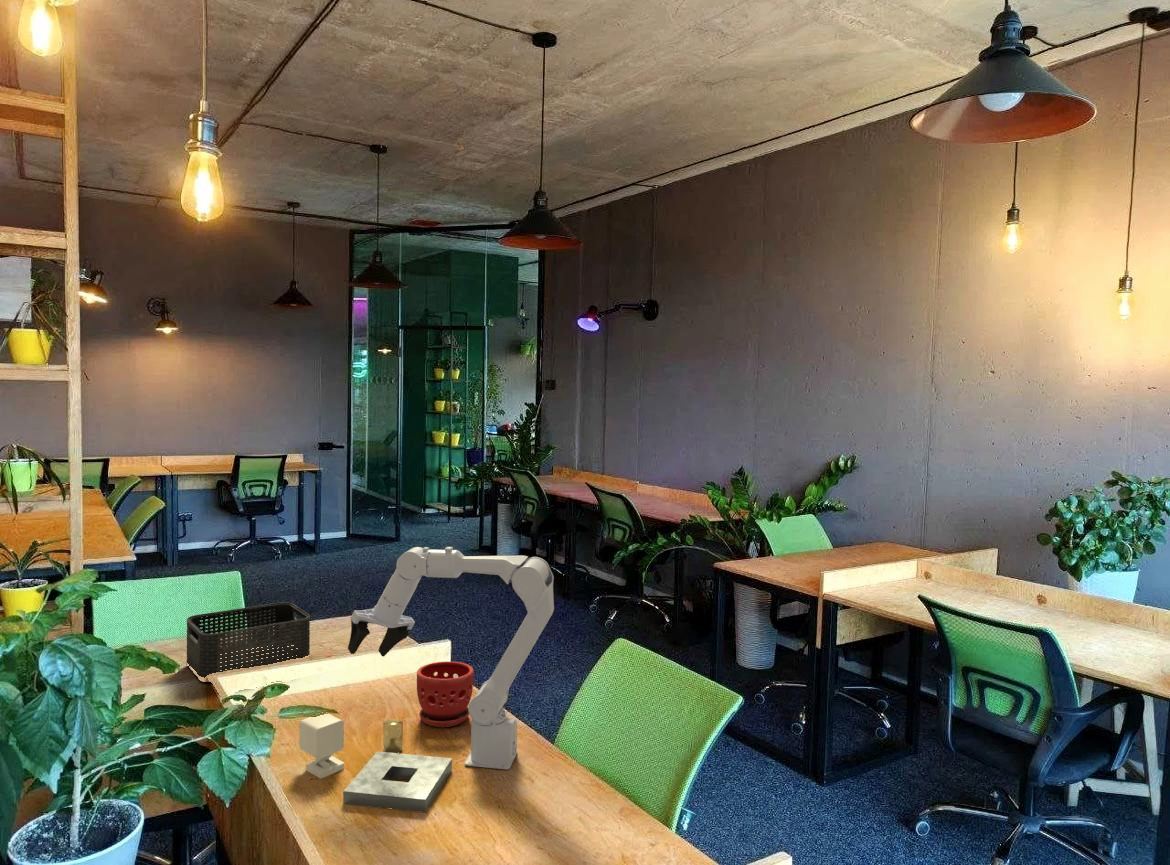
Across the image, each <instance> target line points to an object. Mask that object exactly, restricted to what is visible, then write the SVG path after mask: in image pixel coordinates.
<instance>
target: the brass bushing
mask: <svg viewBox="0 0 1170 865" xmlns="http://www.w3.org/2000/svg"><path fill="white" fill-rule="evenodd" d="M403 726H404V725H403V720H402V719H397V718H391V719H386V720H385V721H383V727H382V728H383V731H382V732H383V733H382V734H383V737H382V738H383V741H382V742H383V743H382V744H383V747H382V749H383V750H384V752H389V753H398V752H400V751H401V750H402V751H403V730H404V729H403ZM383 750H382V751H383ZM402 751H401V752H402ZM401 752H400V753H401Z"/></svg>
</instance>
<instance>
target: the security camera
mask: <svg viewBox="0 0 1170 865" xmlns="http://www.w3.org/2000/svg"><path fill="white" fill-rule="evenodd" d="M344 725H345V724H344V721H343V720H342V719H340V718H337V716H334V715H332V714H330V713H328V714H324V715H320V716H317V717H311V716H309V717H306V718H304V719H301V720H300V722H299V749H300V750H301V751H303V752H305V753H307V754H308V755H310V756H312V757H314V758H315V759H314V760H311V761H309V762H306V763H305V770H306V771H307V772H309V773H310V774H312V775H313V776H315V777H317V778H318V779H324V778H327V777H329V776H331V775H333V774H335V773H338V772H341V771H343V770H344V769H345V768H344V767H345V762H343V761H342V760H340V759H339V758H336V757H335V756H333V755H334V754H335V753H338V752H340V751H342V750H343V749H344V743H345V742H344V741H345V740H344V739H345V738H344V736H345V735H344V733H345V732H344V731H345V729H344V727H345V726H344Z"/></svg>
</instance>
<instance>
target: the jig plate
mask: <svg viewBox="0 0 1170 865" xmlns="http://www.w3.org/2000/svg"><path fill="white" fill-rule="evenodd" d="M452 762H453V758H451V757H450V758H449V757H441V756H432V755H431V756H430V755H420V754H408V753H401V752H400V753H389V752H383V751H376V752H375V754H374V755H372V757H371V758H370V759H369V761H367V763H366V764H365V765H364V766H363V767H362V768H361V770H360V771H359V772H358V773H357V774H356V776H355V777H354V778H353V779H352V780H351V782H350V783H349V784H348V785H347V786H346V788H344V789H343V791H342V793H343V794H342V796H343V798H342V799H343V800H342V804H343V805H349V806H361V807H368V806H369V807H370V806H371V807H370V808H377V807H381V808H380V809H387V808H392V809H391V810H396V809H399V810H398V811H405V810H409V811H408V812H415V811H419V812H418V813H424V812H425V813H426V812H427V811H426V810H428V809H429V807H430V806H431V804H432V803H433V801H434V799H435V798H436V796H437V795H438V793H439V792H440V789H441V788H442V787H443V785H444V784H445V783H446V781H447V779H448V777H449V775H450V774H451V772H452V770H453V768H452V767H453V763H452ZM392 779H398V780H408V782H406V781H398V780H397V781H396V780H392ZM429 805H430V806H429ZM420 811H421V812H420Z"/></svg>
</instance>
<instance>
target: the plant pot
mask: <svg viewBox="0 0 1170 865" xmlns="http://www.w3.org/2000/svg"><path fill="white" fill-rule="evenodd" d="M435 673H437V674H436V675H435ZM445 674H447V676H445ZM454 675H457V677H454ZM473 688H474V668H473V667H472V666H471V665H470V664H466V663H464V662H459V661H438V662H437V661H436V662H432V663H428V664H427V663H426V664H424V665H422V666H421V667H419V668H418V669H417V672H416V694H417V700H418V702H419V703H418V704H419V706H420V708H421V709H420V710H419V713H418V715H419V719H420V720H421V721H422V722H423V723H424V724H426V725H428V726H431V727H437V728H444V727H447V728H449V727H453V726H457V725H461V723H464V722H465V721H466V720H468V717H469V716H470V714H469V704H470V702H471V700H472V699H471V698H472V695H473V690H474V689H473Z"/></svg>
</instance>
